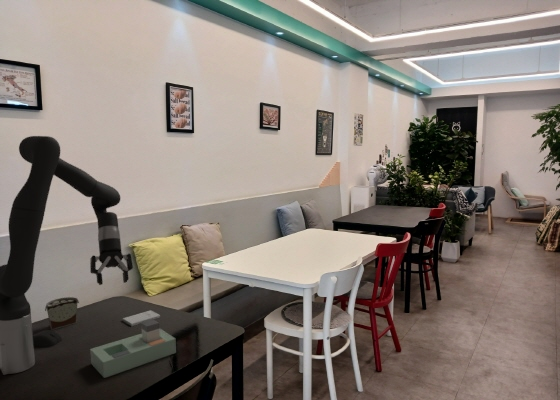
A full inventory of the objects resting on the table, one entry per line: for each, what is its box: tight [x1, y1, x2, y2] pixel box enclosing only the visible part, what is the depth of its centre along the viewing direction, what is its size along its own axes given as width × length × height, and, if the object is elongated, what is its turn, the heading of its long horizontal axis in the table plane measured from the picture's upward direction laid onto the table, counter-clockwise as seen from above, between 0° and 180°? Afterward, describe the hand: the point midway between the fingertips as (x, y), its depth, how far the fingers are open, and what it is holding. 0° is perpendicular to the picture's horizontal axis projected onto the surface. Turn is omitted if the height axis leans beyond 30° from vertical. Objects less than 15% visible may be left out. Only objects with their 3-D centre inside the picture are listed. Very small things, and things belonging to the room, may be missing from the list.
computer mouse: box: [33, 329, 63, 348], centre depth 154 cm, size 6×11×4 cm, turn 82°
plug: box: [140, 319, 160, 344], centre depth 145 cm, size 4×4×10 cm
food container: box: [44, 296, 80, 331], centre depth 170 cm, size 12×6×10 cm, turn 134°
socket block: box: [89, 327, 177, 379], centre depth 141 cm, size 24×12×5 cm, turn 132°
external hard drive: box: [121, 309, 161, 327], centre depth 175 cm, size 2×8×12 cm
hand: (113, 283), depth 153 cm, fingers open, 8 cm apart
